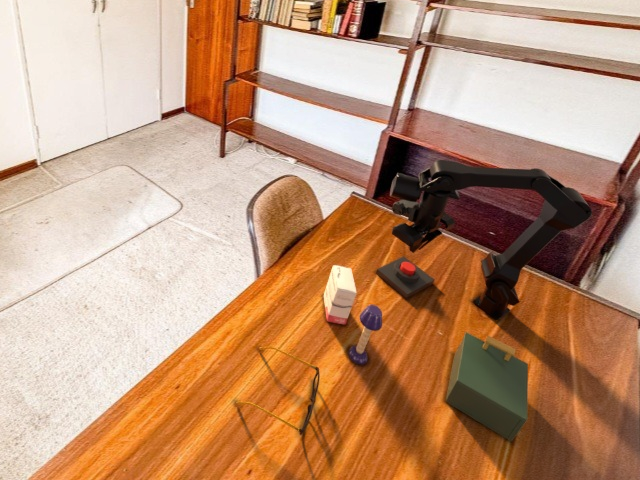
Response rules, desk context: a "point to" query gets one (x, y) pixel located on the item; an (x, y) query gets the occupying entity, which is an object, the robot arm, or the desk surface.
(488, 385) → the chest lid
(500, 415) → the chest
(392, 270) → the button base
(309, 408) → the eyeglasses
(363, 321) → the toy lamp
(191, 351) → the desk surface
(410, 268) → the button
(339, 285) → the ink box
